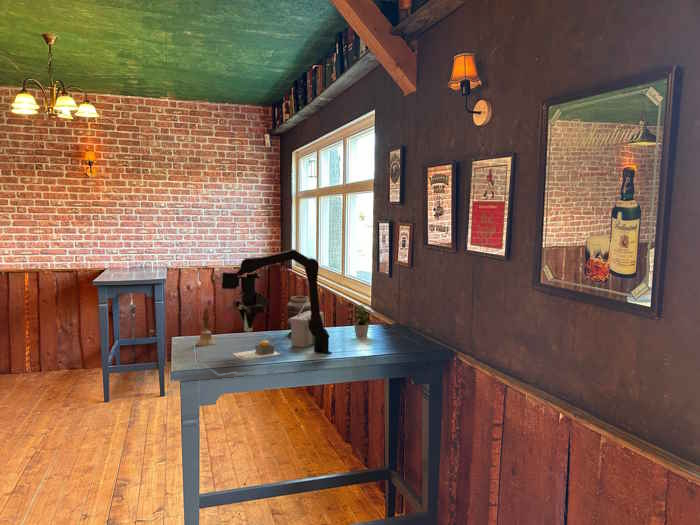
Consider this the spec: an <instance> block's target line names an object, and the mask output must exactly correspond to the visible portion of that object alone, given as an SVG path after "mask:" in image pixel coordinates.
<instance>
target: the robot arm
mask: <svg viewBox="0 0 700 525" xmlns="http://www.w3.org/2000/svg"><path fill="white" fill-rule="evenodd" d="M291 260H292V261H294V262H296V263H297V264H299V265H301V266H302V267H303V268H304V270H305V275H306V278H307V283H308V284H307V285H308V293H309V294H308V298H309V297H310V298H309V301H310V311H311V316H310V318H307V320H308V329H309V330H310V331H311V334H312V335H313V336H315V337H314V343H313V350H314V353H316V354H322V355H323V354H326V355H329V354H330V355H331V354H332V351H330V350H329V349H330V348H329V347H330V346H329V345H330V344H329V339H330V335H329V332H328V330H326V328H325V325H324V326H323V322H322V319H321V315H320V312H321V310H320V299H319V297H320V296H319V290H318V289H319V288H318V277H319V268H320V266H319V262H318V261H317V259H315V258H313V257H308V256H305V255H304V254H302V253H300V252H299V251H297V250H296V249H294V248H293V249H290V250H286V251H283V252H278V253H274V254H270V255H267V256H260V257H259V256H256V257H255V256H253V257H246V258H244V259H243V260H242V261H241V263H240V268H239V269H238V270H237V271H236V272H227V271H225V272H224V271H223V273H222V280H221V289H222V290H238V287H241V289H240V291H238V293H239V294H240V299H234V301H233V302H232V308H236V311H237V312H238V314H239V316H240V318H241V321H242V323H244V314H245V318H246V321H247V324H248V327H249V328H252V329H253V325H254V322H255V318H256V316H257V315H258V314H262V313H266V307H267V306H268V304H269V301H270V298H268V297H265V296H263V294H262V293H259V292H258V291H257V288H256V285H257V284H256V279H260V278H261V275H260V274H259V273H258V272H257V271H258V270H260V269H262V268H264V267H267V266H271V265H275V264H280V263H284V262H287V261H291ZM245 274H246V275H245ZM243 275H244V276H243ZM240 282H241V283H240ZM240 284H241V285H240ZM265 306H266V307H265ZM237 307H238V308H237Z"/></svg>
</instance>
